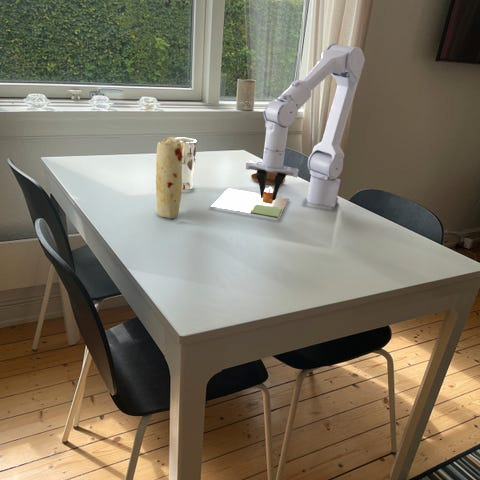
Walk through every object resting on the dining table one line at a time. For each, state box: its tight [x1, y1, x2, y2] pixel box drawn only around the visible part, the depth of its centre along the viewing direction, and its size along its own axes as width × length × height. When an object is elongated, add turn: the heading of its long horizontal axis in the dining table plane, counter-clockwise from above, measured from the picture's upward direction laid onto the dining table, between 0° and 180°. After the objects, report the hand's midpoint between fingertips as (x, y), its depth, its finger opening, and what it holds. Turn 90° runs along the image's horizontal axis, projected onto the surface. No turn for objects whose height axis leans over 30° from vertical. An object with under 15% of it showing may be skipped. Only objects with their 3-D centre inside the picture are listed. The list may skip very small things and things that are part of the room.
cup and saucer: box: [250, 172, 286, 186], centre depth 167 cm, size 12×12×6 cm
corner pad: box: [249, 204, 282, 218], centre depth 140 cm, size 8×8×1 cm
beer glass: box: [175, 137, 197, 190], centre depth 149 cm, size 7×7×15 cm
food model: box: [155, 136, 183, 220], centre depth 127 cm, size 10×7×20 cm
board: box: [210, 188, 290, 219], centre depth 146 cm, size 20×20×1 cm
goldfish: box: [262, 186, 274, 204], centre depth 138 cm, size 6×3×4 cm, turn 167°
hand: (268, 198), depth 138 cm, fingers closed on goldfish, 3 cm apart
